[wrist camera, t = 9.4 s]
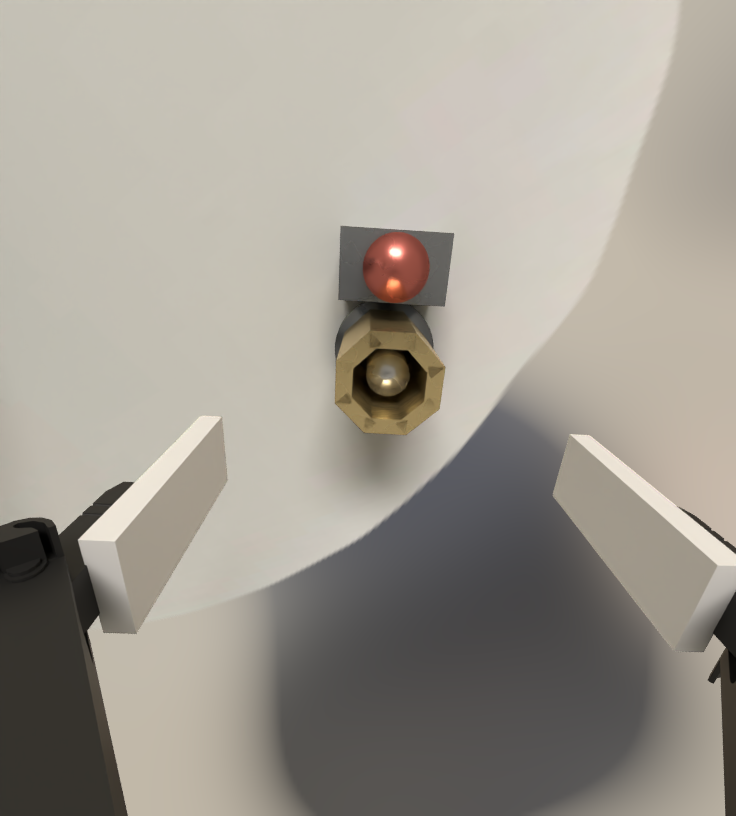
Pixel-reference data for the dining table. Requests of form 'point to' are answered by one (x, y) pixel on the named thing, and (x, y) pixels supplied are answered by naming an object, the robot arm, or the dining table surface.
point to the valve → (392, 289)
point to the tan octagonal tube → (377, 409)
